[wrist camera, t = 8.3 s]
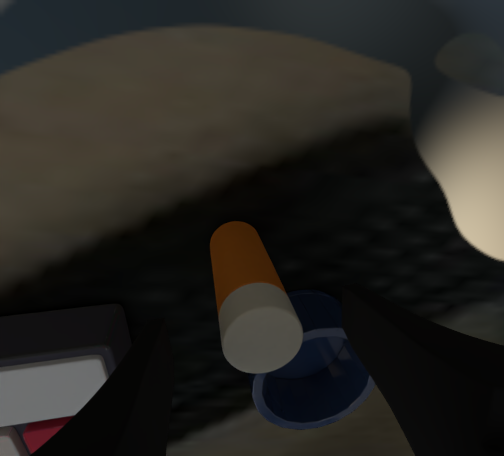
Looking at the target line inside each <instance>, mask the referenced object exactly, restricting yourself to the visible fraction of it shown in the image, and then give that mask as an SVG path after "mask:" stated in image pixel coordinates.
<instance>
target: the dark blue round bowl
mask: <svg viewBox="0 0 504 456" xmlns="http://www.w3.org/2000/svg"><path fill="white" fill-rule="evenodd" d="M287 296H288V298H289V300H290V302H291V304H292V306H293V308H294V310H295V312H296V314H297V316H298V319H299V321H300V323H301V325H302V328H303V340H302V344H301V347H300V349H299V351H298V352H297V354H296V355H295V356H294V358H293V359H292V360H290V361H289V362H288V363H287V364H285V365H284V366H282V367H280V368H278V369H276V370H273V371H270V372H266V373H248V378H249V383H250V388H251V393H252V397H253V400H254V403H255V406H256V408H257V410H258V411H259V412H260V414H261V415H262V416H263V417H264V418H265V419H266V420H267V421H269V422H271V423H273V424H275V425H278V426H280V427H282V428H289V429H297V430H303V429H312V428H318V427H322V426H325V425H328V424H331V423H334V422H336V421H338V420H340V419H342V418H343V417H345V416H347V415H348V414H350V413H352V412H353V411H354V410H355V409H356V408H357V407H359V406H360V405H361V404H362V403H363V402H364V401H365V400H366V398H367V397H368V396H369V394H370V393H371V391H372V389H373V388H374V386H375V382H374V381H373V379H372V378H371V376H370V375H369V373H368V372H367V370H366V369H365V367H364V366H363V364H362V363H361V361H360V359H359V358H358V356H357V355H356V353H355V352H354V350H353V349H352V347H351V345H350V343H349V341H348V339H347V337H346V334H345V332H344V330H343V328H342V303H341V302H340V301H339V300H338V299H337V298H335V297H334V296H332V295H330V294H328V293H325V292H322V291H318V290H295V291H291V292H287Z"/></svg>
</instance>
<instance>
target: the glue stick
mask: <svg viewBox="0 0 504 456" xmlns="http://www.w3.org/2000/svg"><path fill="white" fill-rule="evenodd" d="M210 252H211V260H212V268H213V277H214V285H215V293H216V301H217V310H218V318H219V326H220V335H221V343H222V350H223V353H224V356H225V358H226V359H227V360H228V362H229V363H230V364H231V365H232V366H234V367H235V368H237V369H239V370H241V371H244V372H247V373H266V372H270V371H273V370H276V369H278V368H280V367H282V366H284V365H285V364H287V363H288V362H289V361H290V360H292V359H293V358H294V356H295V355H296V354H297V352H298V351H299V349H300V347H301V344H302V340H303V328H302V325H301V323H300V321H299V319H298V316H297V314H296V312H295V310H294V308H293V306H292V304H291V302H290V300H289V298H288V296H287V293H286V291H285V289H284V287H283V285H282V283H281V281H280V279H279V277H278V275H277V273H276V270H275V268H274V266H273V264H272V262H271V260H270V258H269V256H268V254H267V252H266V250H265V248H264V245H263V243H262V241H261V239H260V237H259V235H258V233H257V231H256V230H255V229H254V228H253V227H252V226H251V225H249V224H247V223H245V222H240V221H232V222H228V223H225V224H223V225H222V226H220V227H219V228H218V229H217V230H216V231H215V232H214V233H213V235H212V237H211V241H210Z"/></svg>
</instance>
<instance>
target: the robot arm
mask: <svg viewBox="0 0 504 456" xmlns="http://www.w3.org/2000/svg"><path fill="white" fill-rule="evenodd" d="M342 328H343V330H344V332H345V334H346V337H347V339H348V341H349V343H350V345H351V347H352V349H353V350H354V352H355V353H356V355H357V356H358V358H359V359H360V361H361V363H362V364H363V366H364V367H365V369H366V370H367V372H368V373H369V375H370V376H371V378H372V379H373V381H374V382H375V384H376V385H377V387H378V388H379V390H380V391H381V393H382V394H383V396H384V398H385V399H386V401H387V402H388V404H389V406H390V408H391V409H392V411H393V413H394V415H395V417H396V419H397V421H398V423H399V425H400V426H401V428H402V430H403V432H404V434H405V436H406V438H407V440H408V442H409V444H410V446H411V448H412V450H413V452H414V454H415V456H504V346H503V345H499V344H495V343H491V342H488V341H484V340H481V339H478V338H475V337H472V336H469V335H465V334H463V333H460V332H457V331H454V330H451V329H449V328H446V327H444V326H441V325H439V324H436V323H434V322H431V321H429V320H427V319H425V318H422V317H420V316H418V315H416V314H414V313H412V312H410V311H408V310H406V309H404V308H402V307H400V306H398V305H396V304H394V303H392V302H390V301H388V300H387V299H385V298H383V297H381V296H379V295H378V294H376V293H374V292H372V291H370V290H368V289H367V288H365V287H363V286H361V285H359V284H357V283H356V284H350V285H345V286H342ZM173 387H174V358H173V353H172V349H171V345H170V341H169V337H168V333H167V328H166V324H165V320H164V318H161V319H155V320H149V321H147V322H146V324H145V325H144V327H143V328H142V330H141V332H140V333H139V335H138V336H137V338H136V340H135V341H134V343H133V344H132V346H131V347H130V349H129V350H128V352H127V353H126V354H125V356H124V357H123V359H122V360H121V362H120V363H119V364H118V366H117V367H116V368H115V370H114V371H113V372H112V374H111V375H110V376H109V378H108V379H107V380H106V381H105V383H104V384H103V385H102V386H101V388H100V389H99V390H98V391H97V392H96V393H95V395H94V396H93V397H92V398H91V399H90V400H89V401H88V402H87V403H86V404H85V405H84V407H83V408H82V409H81V410H80V411H79V412H77V413H76V414H75V415H74V416H73V417H72V418H71V419H70V420H69V421H68V422H67V423H66V424H65V425H64V426H63V427H62V428H61V429H60V430H59V431H58V432H57V433H56V434H54V435H53V436H52V437H51V438H50V439H49V440H48V441H47V442H45V443H44V444H43V445H42V446H41V447H39V448H38V449H37V450H36V451H35V452H33V453H32V454H31V455H30V456H166V446H167V437H168V429H169V421H170V413H171V404H172V396H173Z"/></svg>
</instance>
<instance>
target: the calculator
mask: <svg viewBox="0 0 504 456" xmlns="http://www.w3.org/2000/svg"><path fill="white" fill-rule="evenodd" d="M131 346H132V343H131V338H130V334H129V330H128V325H127V321H126V317H125V312H124V309H123V307H122V306H121V305H120V304H105V305H97V306H88V307H80V308H71V309H63V310H54V311H45V312H37V313H28V314H20V315H11V316H3V317H0V456H30V455H31V454H32V453H33V452H35V451H36V450H37V449H38V448H39V447H41V446H42V445H43V444H44V443H45V442H47V441H48V440H49V439H50V438H51V437H52V436H53V435H54V434H56V433H57V432H58V431H59V430H60V429H61V428H62V427H63V426H64V425H65V424H66V423H67V422H68V421H69V420H70V419H71V418H72V417H73V416H74V415H75V414H76V413H77V412H79V411H80V410H81V409H82V408H83V407H84V405H85V404H86V403H87V402H88V401H89V400H90V399H91V398H92V397H93V396H94V395H95V393H96V392H97V391H98V390H99V389H100V388H101V386H102V385H103V384H104V383H105V381H106V380H107V379H108V378H109V376H110V375H111V374H112V372H113V371H114V370H115V368H116V367H117V366H118V364H119V363H120V362H121V360H122V359H123V357H124V356H125V354H126V353H127V352H128V350H129V349H130V347H131Z"/></svg>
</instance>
